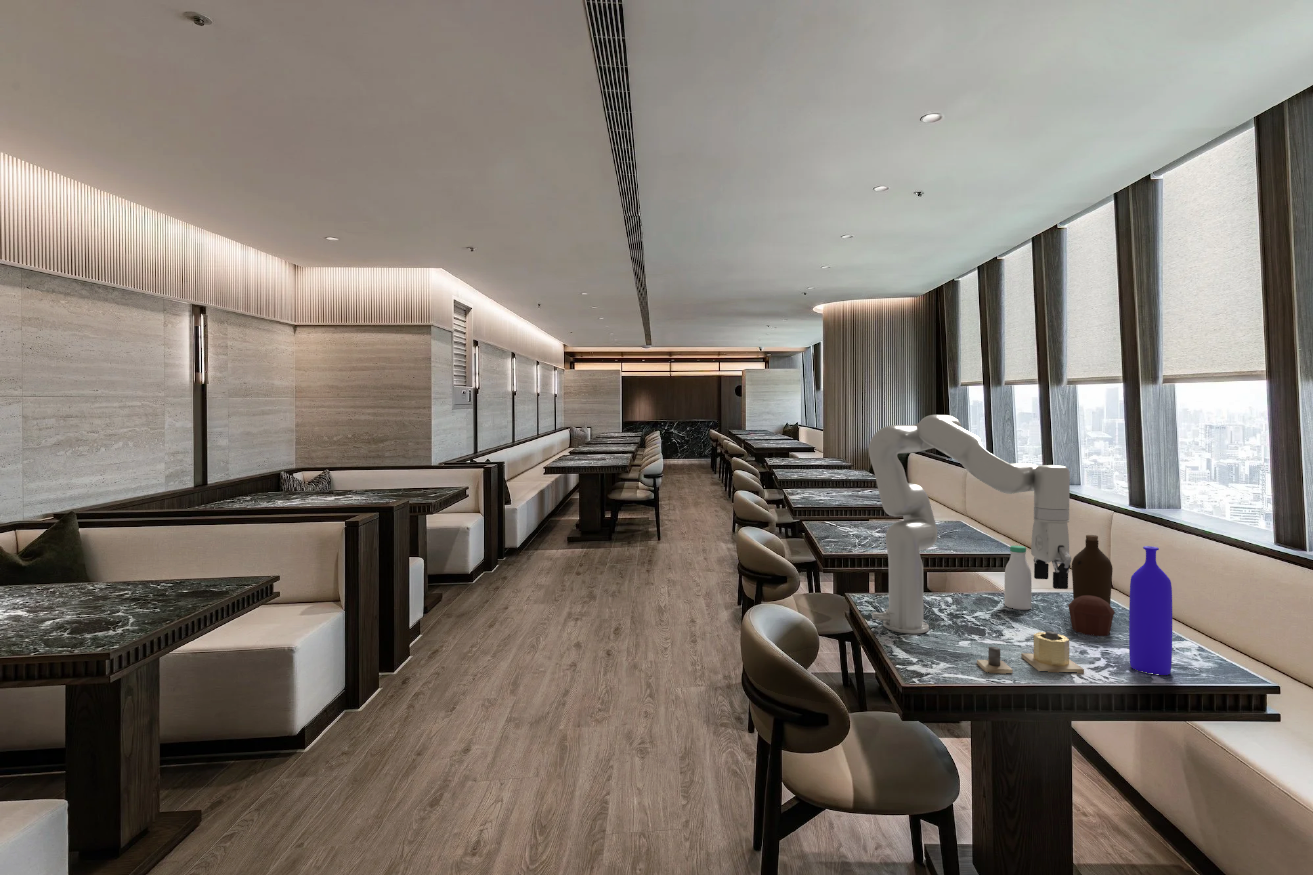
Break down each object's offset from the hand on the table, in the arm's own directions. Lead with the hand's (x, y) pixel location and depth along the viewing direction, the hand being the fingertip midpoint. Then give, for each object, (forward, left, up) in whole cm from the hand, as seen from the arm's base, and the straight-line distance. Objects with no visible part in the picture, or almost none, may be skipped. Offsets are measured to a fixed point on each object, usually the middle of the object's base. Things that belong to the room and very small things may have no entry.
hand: (1050, 583), depth 160 cm
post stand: (0, 0, -20) cm, 20 cm away
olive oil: (+33, +46, -21) cm, 60 cm away
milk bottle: (+14, +53, -21) cm, 58 cm away
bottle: (+22, -1, -21) cm, 30 cm away
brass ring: (0, 0, -19) cm, 19 cm away
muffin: (+24, +29, -21) cm, 43 cm away
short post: (-15, -4, -20) cm, 25 cm away
